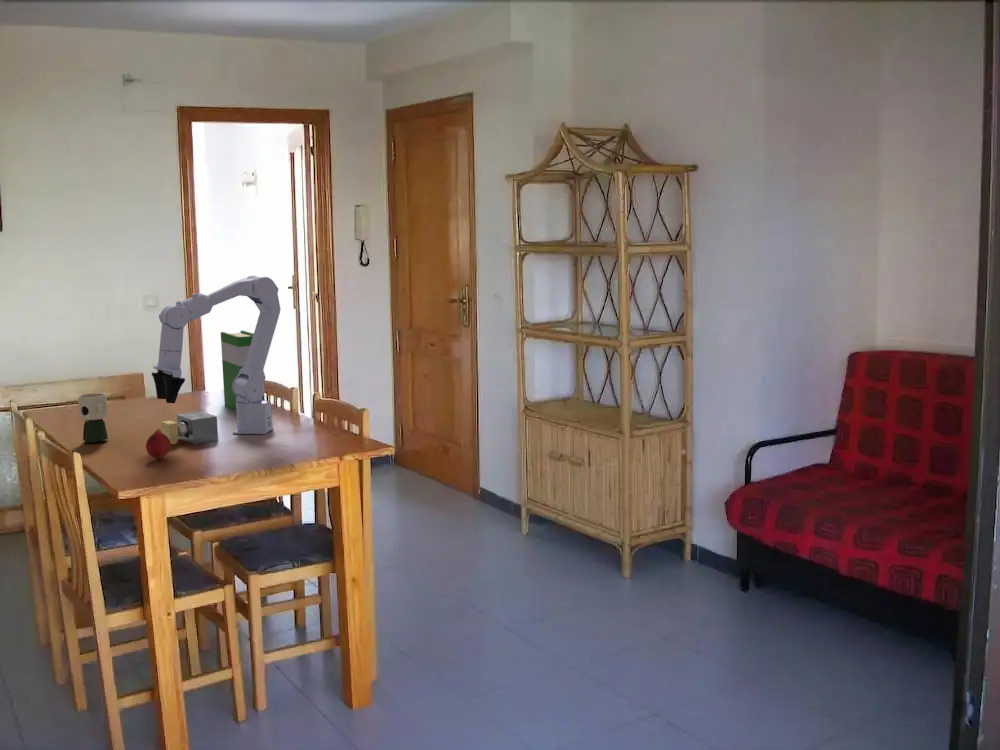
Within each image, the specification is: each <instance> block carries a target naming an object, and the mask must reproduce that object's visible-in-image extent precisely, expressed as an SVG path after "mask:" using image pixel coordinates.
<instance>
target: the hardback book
mask: <svg viewBox="0 0 1000 750" xmlns="http://www.w3.org/2000/svg"><path fill="white" fill-rule="evenodd" d="M253 335H254V332H250V331H246V330H240V332H234V333H233V332H232V333H228V332H225V331H221V332H220V341H221V342H220V344H221V345H220V346H221V360H222V361H221V363H222V378H223V379H222V381H223V382H222V383H223V397H224V398H223V399H224V401H223V402H224V406H225V407H227V408H229V409H231V410H233V411H235V412H236V398H237V395H235V394H234V392H233V390H232V383H233V381H234V380H235V378H236V377H237V376H238V374H239V371H240V369H241V368H242V367H243V366H244V365H245V362H246V359H247V355H248V352H249V348H250V345H251V342H252V338H253ZM265 397H266V396H265V394H264V395H263V397H262V400H263V401H266V399H265Z"/></svg>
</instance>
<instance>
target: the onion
mask: <svg viewBox="0 0 1000 750" xmlns="http://www.w3.org/2000/svg"><path fill="white" fill-rule="evenodd" d="M171 443H172V442H170V440H169V439H168V437H167V436H166V435H164V434H163V433H162V429H160V428H157V429H155V431H154V432H153V433H152V434H151V435H150V436H149V437H148V439H147V440H146V443H145V448H146V449H145V450H146V452H147V454H149V456H150V457H152V458H153V459H155V460H156V461H162V460H163V459H164V458H165V457H166V456H167V455H169V453H170V451H171V447H172V444H171ZM161 459H162V460H161Z"/></svg>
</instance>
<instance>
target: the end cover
mask: <svg viewBox="0 0 1000 750" xmlns="http://www.w3.org/2000/svg"><path fill="white" fill-rule="evenodd" d="M161 433H163V434H164V435H166V436H167V437H168V439H169V440H170V443H172V442H179V439H178V437H182V436H188V435H189V431H188V422H180V423H177V421H176V422H175V421H172V420H164V421H163V420H162V421H161Z"/></svg>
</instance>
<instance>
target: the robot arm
mask: <svg viewBox="0 0 1000 750" xmlns="http://www.w3.org/2000/svg"><path fill="white" fill-rule="evenodd" d="M278 293H279V287H278V286H277V284H276V283H275V281H274V280H273V279H272V278H270V277H267V276H256V275H250V276H247V277H246V278H245V277H244V278H240V279H237V280H236V281H234V282H231V283H229V284H227V285H225V286H223V287H221V288H220V289H216V291H213V292H211V293H209V294H207V295H206V294H204V293H197V292H195V293H192V294H191V297H189V298H187V299H184V300H182V301H180V300H178V301H175V305H167V306H165V307H164V308H162V310H161V312H160V313H159V315H158V319H159V322H160V323H161V330H160V340H159V352H158V361H157V364H156V365H153V366H152V367H153V368H152V369H154V370H155V371H157V372H151V376H152V379H153V381H154V385H155V392H156V398H157V399H158V400H165V401H166V403H167V404H176V401H177V398H178V394H179V392H180V390H181V388H182V386H183V385H184V382H186V378H185V377H182V368H181V365H182V352H183V343H184V342H183V341H184V330H185V329H184V328H185V326H187V324H188V323H189V322H191V321H194V320H196V319H199V318H201V317H203V316H205V315H207V314H209V313H211V311H212V309H213V307H215V306H217V305H219V304H222V303H224V302H226V301H229V300H232V299H234V298H236V297H240V296H242V297H247V298H249V299H250V300H251V301H252V302H253V303H254V304H255V306H256V307H257V308H258V311H259V315H258V318H257V321H256V325H255V328H254V332H253V333H254V335H253V338H252V342H251V345H250V348H249V352H248V355H247V359H246V362H245V365H244V366H243V367H242V368H241V369H240V371H239V374H238V376H237V377H236V378H235V380H234V381H233V383H232V390H233V392H234V394H235V395H237V398H236V411H235V412H236V424H237V425H236V429H235V430H234V431H232V432H231V433H232V435H240V434H241V435H266V434H268V433H269V432H270V431H271V430H273V429H274V426H273V411H272V409H273V408H272V403H271V401H268V400H265V401H263V400H262V397H263V395H264V396H265V392H266V387H265V381H266V374H265V371H264V368H265V366H266V362H267V358H268V355H269V352H270V348H271V346H272V342H273V338H274V336H275V335H274V334H275V331H276V327H277V324H278V320H279V317H280V314H281V304H280V300H279V294H278Z"/></svg>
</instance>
